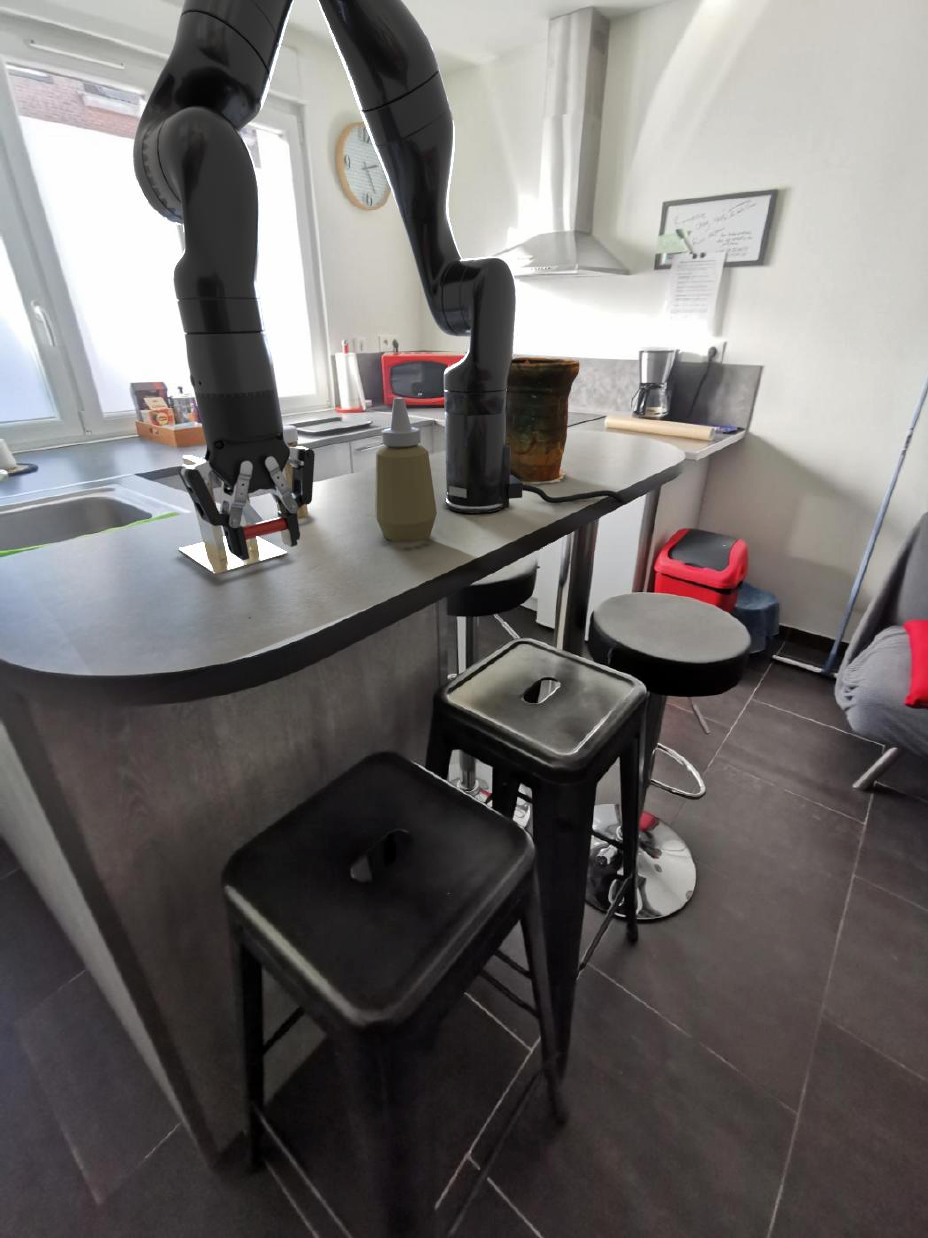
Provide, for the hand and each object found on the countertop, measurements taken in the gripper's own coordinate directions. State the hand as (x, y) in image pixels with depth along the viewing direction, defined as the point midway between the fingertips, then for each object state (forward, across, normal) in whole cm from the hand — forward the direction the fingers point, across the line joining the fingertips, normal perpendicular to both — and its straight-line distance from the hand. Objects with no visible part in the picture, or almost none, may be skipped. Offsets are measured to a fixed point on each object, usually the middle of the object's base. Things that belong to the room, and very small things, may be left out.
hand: (267, 550), depth 62 cm
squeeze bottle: (+4, +20, 0) cm, 20 cm away
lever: (-4, 0, +6) cm, 7 cm away
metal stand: (+4, 0, +10) cm, 11 cm away
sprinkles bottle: (+4, +13, +19) cm, 23 cm away
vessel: (+4, +58, +10) cm, 59 cm away
